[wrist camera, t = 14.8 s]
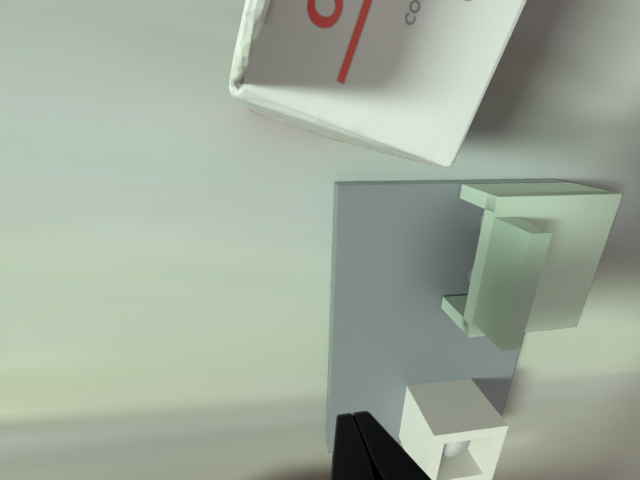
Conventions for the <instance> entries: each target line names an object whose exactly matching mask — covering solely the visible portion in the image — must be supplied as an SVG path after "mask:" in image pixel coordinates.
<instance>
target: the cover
mask: <svg viewBox="0 0 640 480" xmlns="http://www.w3.org/2000/svg"><path fill="white" fill-rule="evenodd" d="M621 197H622V194H620V193H615V192H611V191H606V190H602V189H597V188H593V187H588V186H584V185H580V184H575V183H571V182H564V183H504V184H462V187H461V193H460V199H463V200H465V201H467V202H470V203H472V204H474V205H477V206H479V207H481V208H484V209H485V211H484V216H483V221H482V226H481V231H480V236H479V241H478V246H477V251H476V256H475V261H474V266H473V271H472V276H471V281H470V286H469V291H468V295H462V296H449V297H443V300H442V305H441V308H442V309H443V310H444V311H445V313H446V314H447V315H448V316H449V317H450V318H451V319H452V320H453V321H454V322H455V323H456V324H457V325H458V326H459V328H460V329H461V330H462V331H463V332H464V333H465V334H466V335H467V336H468V337H469V338H471V337H481V336H486V337H487V338H488V339H489V340H490V341H492V342H493V343H494V344H495V345H496V346H497V347H498V348H499V349H500V350H501V351H509V350H519V349H520V347H521V344H522V340H523V337H524V333H525V332H532V331H542V330H552V329H562V328H572V327H577V325H578V322H579V319H580V317H581V314H582V311H583V308H584V305H585V302H586V299H587V296H588V293H589V290H590V287H591V284H592V282H593V279H594V276H595V273H596V270H597V267H598V264H599V261H600V258H601V255H602V252H603V250H604V247H605V244H606V241H607V238H608V235H609V232H610V229H611V226H612V223H613V220H614V217H615V215H616V212H617V209H618V206H619V203H620V200H621Z"/></svg>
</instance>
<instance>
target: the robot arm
mask: <svg viewBox="0 0 640 480" xmlns="http://www.w3.org/2000/svg"><path fill="white" fill-rule="evenodd" d="M330 480H432V479H431V478H430V477H429V476H428V475H427V474H426V473H425V472H424V471H423V470H422V468H421V467H420V466H419V465H418V464H417V463H416V462H415V461H414V460H413V459H412V458H411V457H410V456H409V454H408V453H407V452H406V451H405V450H404V449H403V448H402V447H401V446H400V445H399V444H398V443H397V442H396V440H395V439H394V438H393V437H392V436H391V435H390V434H389V433H388V432H387V431H386V430H385V429H384V427H383V426H382V425H381V424H380V423H379V422H378V421H377V420H376V419H375V418H374V417H373V416H372V415H371V413H370V412H368V411H359V412H354V413H353V414H351V413H344V414H338V415H337V417H336V426H335V436H334V447H333V457H332V468H331V478H330Z"/></svg>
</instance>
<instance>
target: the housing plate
mask: <svg viewBox="0 0 640 480" xmlns="http://www.w3.org/2000/svg"><path fill="white" fill-rule="evenodd" d="M564 182H566V181H561V180H557V179H500V180H432V181H363V182H335V185H334V215H333V245H332V275H331V305H330V334H329V364H328V394H327V424H326V444H327V449H328V453H333V447H334V436H335V426H336V417H337V415H338V414H344V413H351V414H353V413H354V412H359V411H368V412H370V413H371V415H372V416H373V417H374V418H375V419H376V420H377V421H378V422H379V423H380V424H381V425H382V426H383V427H384V429H385V430H386V431H387V432H388V433H389V434H390V435H391V436H392V437H393V438H394V439H395V440H396V442H397V443H400V442H401V441H400V439H399V433H400V427H401V420H402V414H403V407H404V401H405V395H406V388H407V386H409V385H418V384H427V383H436V382H445V381H454V380H463V379H472V381H473V382H474V383H475V384H476V386H477V387H478V388H479V389H480V391H481V392H482V393H483V394H484V396H485V397H486V398H487V399H488V401H489V402H490V403H491V404H492V406H493V407H494V408H495V409H496V411H497V412H498V413H499V414H500V416H501V415H502V412H503V408H504V405H505V401H506V398H507V394H508V390H509V387H510V383H511V380H512V376H513V373H514V369H515V365H516V362H517V358H518V355H519V351H520V349H519V350H509V351H501V350H500V349H499V348H498V347H497V346H496V345H495V344H494V343H493V342H492V341H490V340H489V339H488V338H487V337H486V336H481V337H471V338H469V337H468V336H467V335H466V334H465V333H464V332H463V331H462V330H461V329H460V328H459V326H458V325H457V324H456V323H455V322H454V321H453V320H452V319H451V318H450V317H449V316H448V315H447V314H446V313H445V311H444V310H443V309H442V308H441V305H442V300H443V297H449V296H462V295H468V291H469V286H470V281H471V276H472V271H473V266H474V261H475V256H476V251H477V246H478V241H479V236H480V231H481V226H482V221H483V216H484V211H485V209H484V208H481V207H479V206H477V205H474V204H472V203H470V202H467V201H465V200H463V199H460V193H461V187H462V184H504V183H564ZM520 348H521V347H520ZM469 445H470V440H467V441H461V442H454V443H447V444H444V447H443V454H444V455H445V456H448V457H454V456H458V455H460V454H462V453H463V452H465V451H466V450H467V448H468V447H469Z"/></svg>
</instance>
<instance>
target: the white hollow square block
mask: <svg viewBox="0 0 640 480" xmlns="http://www.w3.org/2000/svg"><path fill="white" fill-rule="evenodd" d="M507 429H508V424H507V423H506V422H505V421H504V419H503V418H502V417H501V416H500V414H499V413H498V412H497V411H496V409H495V408H494V407H493V406H492V404H491V403H490V402H489V401H488V399H487V398H486V397H485V396H484V394H483V393H482V392H481V391H480V389H479V388H478V387H477V386H476V384H475V383H474V382H473V381H472V379H463V380H454V381H445V382H436V383H427V384H418V385H409V386H407V388H406V395H405V401H404V407H403V414H402V420H401V427H400V433H399V439H400V441H401V443H402V445H403V448H404V450H405V451H406V452H407V453H408V454H409V456H410V457H411V458H412V459H413V460H414V461H415V462H416V463H417V464H418V465H419V466H420V467H421V468H422V470H423V471H424V472H425V473H426V474H427V475H428V476H429V477H430V478H431V479H432V480H492V477H493V474H494V471H495V468H496V464H497V461H498V458H499V455H500V451H501V448H502V445H503V442H504V438H505V435H506V432H507ZM467 440H470V445H469V447H468V448H467V450H466V451H465V452H463V453H462V454H460V455H458V456H454V457H448V456H445V455H444V454H443V447H444V444H447V443H454V442H461V441H467Z"/></svg>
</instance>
